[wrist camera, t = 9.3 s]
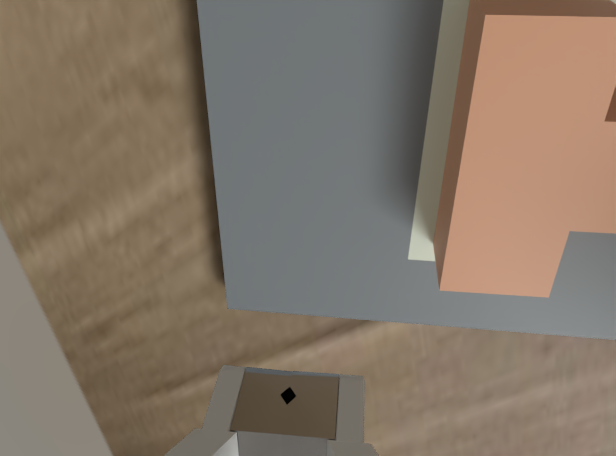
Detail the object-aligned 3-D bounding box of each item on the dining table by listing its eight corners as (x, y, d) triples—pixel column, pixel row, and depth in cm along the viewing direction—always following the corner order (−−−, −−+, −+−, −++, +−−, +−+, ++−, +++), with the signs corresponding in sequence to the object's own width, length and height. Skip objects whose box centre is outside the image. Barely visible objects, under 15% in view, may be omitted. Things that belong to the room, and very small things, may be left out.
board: (649, 324, 26) (660, 343, 25) (232, 292, 28) (227, 308, 27) (892, -172, 15) (927, -174, 14) (190, -176, 17) (179, -178, 16)
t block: (682, 258, 22) (720, 308, 20) (433, 244, 23) (439, 290, 21) (806, -3, 17) (878, 22, 14) (470, -8, 18) (485, 14, 15)
